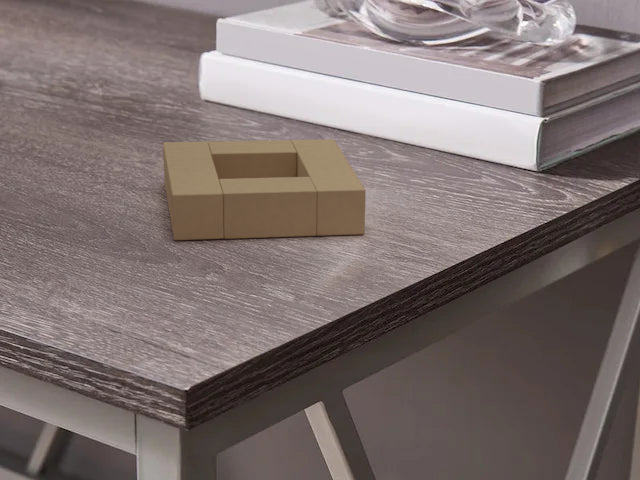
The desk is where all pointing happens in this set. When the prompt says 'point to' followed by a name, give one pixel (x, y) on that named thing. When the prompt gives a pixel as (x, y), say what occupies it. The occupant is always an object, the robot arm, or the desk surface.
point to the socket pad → (261, 189)
